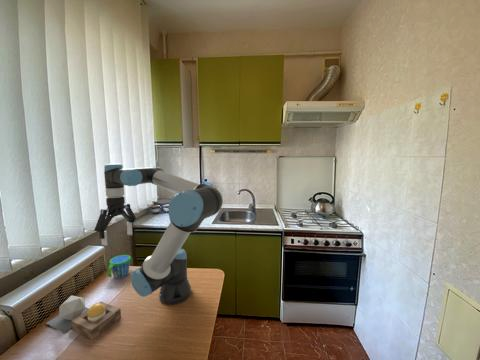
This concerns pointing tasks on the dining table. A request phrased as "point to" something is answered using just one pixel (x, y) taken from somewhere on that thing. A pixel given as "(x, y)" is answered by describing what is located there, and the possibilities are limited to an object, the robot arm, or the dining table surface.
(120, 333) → the dining table surface
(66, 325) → the coaster
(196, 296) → the dining table surface
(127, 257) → the snack cup
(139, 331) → the dining table surface
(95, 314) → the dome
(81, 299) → the die
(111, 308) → the brown square tray
